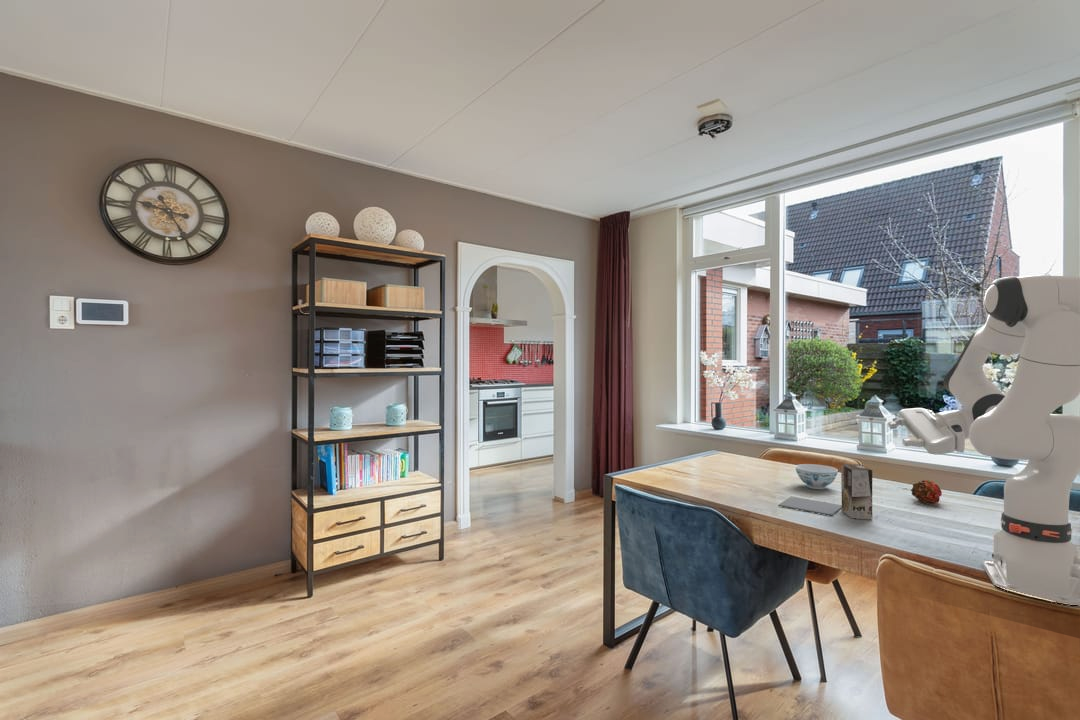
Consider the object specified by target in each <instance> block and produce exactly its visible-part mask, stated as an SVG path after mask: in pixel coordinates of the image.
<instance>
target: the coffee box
mask: <svg viewBox="0 0 1080 720" xmlns="http://www.w3.org/2000/svg"><path fill="white" fill-rule="evenodd" d="M840 465H841V466H840V467H841V468H840V470H841V473H840V475H841V479H840V480H841V482H840V483H841V505H842V508H841V512H843V513H844V514H846V515H847V516H848V517H850V519H851V518H852V519H854V518H856V519H857V520H870V519H872V520H873V469H871V468H869V467H866V466H864V465H862V464H857V463H855V464H854V463H853V464H850V463H848V464H846V463H845V464H842V463H841V464H840Z"/></svg>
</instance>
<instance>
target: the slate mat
mask: <svg viewBox="0 0 1080 720" xmlns="http://www.w3.org/2000/svg"><path fill="white" fill-rule="evenodd" d="M777 506H778V507H779V506H782V507H781V508H784V507H787V508H786V509H790V508H792V509H791V510H795V509H798V510H797V511H800V510H803V511H802V512H806V511H809V512H808V513H811V512H814V513H813V514H817V513H820V514H819V515H822V514H825V515H824V516H827V515H829V517H834V516H835V515H836V514H837V513H838V512H839V511H841V510H842V504H838V503H831V502H825V501H820V500H814V499H808V498H803V497H797V496H796V497H795V496H790V497H788V498H786V499H785V500H784V501H782V502H780V503H778V505H777ZM836 512H837V513H836ZM835 513H836V514H835ZM834 514H835V515H834ZM833 515H834V516H833Z"/></svg>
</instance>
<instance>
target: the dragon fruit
mask: <svg viewBox="0 0 1080 720" xmlns="http://www.w3.org/2000/svg"><path fill="white" fill-rule="evenodd" d="M940 487H941V486H939V484H936V483H935V482H934V481H932V480H929V479H927V480H924V479H923V480H921V481H918V483H916V482H915V483H913V484H912V487H911V490H910V492H911V495H912V496H913V497H915V498H916V499H917V500H918V501H919V500H920V502H922V503H925V504H930V503H931V502H933V503H937V504H938V503H939V502H940V500H941V499H940V497H941V496H942V493H943V492H942V489H941V488H940Z"/></svg>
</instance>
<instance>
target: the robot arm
mask: <svg viewBox="0 0 1080 720" xmlns="http://www.w3.org/2000/svg"><path fill="white" fill-rule="evenodd" d="M983 299H984V300H983V301H984V309H985V312H986V313H987V314H988V316H987V318H986V321H985V324H984V325H983V326H980V327H979V328H977V329H976V330H975V331H974V332H973V333H972V335H971V336H970V337H969V339H968V341H967V342H966V344H965V346H964V348H963V349H962V351H961V353H960V355H959V356H958V358H957V360H956V362H955V364H954V365H953V366H952V367H951V368H950V369H949V370H948V371H947V373H945V376H944V378H943V381H942V384H943V387H944V389H946V391H948V392H949V393H950V394H951V395H952V396H954V398H955V399H956V400H957V401H958V403H960V405H961V406H962V407H961V409H955V410H954V409H953V410H946V411H941V412H936V413H934V411H933V410H930V409H926V408H923V407H914V408H913V407H912V408H903V409H901V410H899V411H898V418H896V419H894V420H893V421H889V422H888V424H887V426H888V428H889V429H890V430H893V429H894V430H895V429H897V427H898V426H904V427H905V428H906V429H907V430H908V431H909V432H910V433H911V435H912V436H913V437H914V438H915V439H911V438H903V439H902V444H903V445H904V447H916V448H917V447H918V448H924V449H925V450H926V451H927V453H928V454H931V455H945V454H950V453H955V451H956V452H963V451H965V443H966V442H965V441H966V439H968V438H969V440H970V441H969V442H970V443H971V445H972V447H973V448H974V449H975V450H976V451H977V452H978V453H979V454H980V455H984V456H986V457H991V458H995V459H996V458H997V459H1003V460H1013V461H1014V460H1015V461H1016V460H1019V461H1028V462H1027V463H1026V465H1025V467H1024V468H1023V469H1021V471H1020V472H1018V473H1016V474H1014V475H1011V476H1010V477H1008V478H1007V479H1006V480H1005V482H1004V485H1003V511H1002V512H1001V517H1000V523H1001V524H1000V525H1001V529H1000V530H999V531H998V532H996V533H994V534H993V548H992V549H993V552H992V554H991V557H992V560H985V561H983V562H982V567H983V569H984V571H985V572H986V575H988V577H989V580H990V581H991V582H992V585H993V586H994V585H997V586H999V587H1002V588H1005V589H1009V590H1013V591H1016V592H1020V593H1024V594H1028V595H1032V596H1037V597H1041V598H1045V599H1049V600H1053V601H1057V602H1061V603H1067V604H1072V605H1080V547H1077V546H1076V545H1075V544H1074V543H1073V542H1072V533H1073V530H1072V523H1071V522H1069V512H1070V511H1069V510H1070V507H1069V506H1070V497H1071V496H1070V495H1071V494H1070V493H1071V491H1072V487H1073V483H1074V482H1075V479H1076V478H1077V477H1078V475H1079V473H1080V416H1079V415H1073V414H1068V413H1053V412H1055V411H1056V410H1057V409H1058V408H1060V407H1062V406H1064V405H1066V404H1068V403H1069V404H1070V402H1072V401H1075V399H1076V398H1078V397H1079V396H1080V276H1069V275H1051V274H1038V275H1023V276H1014V275H1013V276H1011V275H1010V276H1006V277H1005V276H1004V277H1000V278H997V279H994V280H993V281H992V282H991V283H990V284H989V285H988V286H987V288H986V291H985V294H984V298H983ZM991 353H992V354H995V355H1003V356H1012V355H1018V354H1019V356H1018V361H1017V366H1016V370H1015V374H1014V376H1013V377H1014V378H1013V382H1012V384H1011V386H1010V388H1009V390H1008V392H1007V393H1006V394H1004V392H1003V391H1002V390H1001V389H1000V388H999V387H997V386H996V385H995V384H994V383H993V382H992V381H991V380H990V379H989V378H988V377H987V375H986V373H985V372H984V369H983V366H984V365H985V363H986V361H987V359H988V358H989V356H990V354H991Z"/></svg>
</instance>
